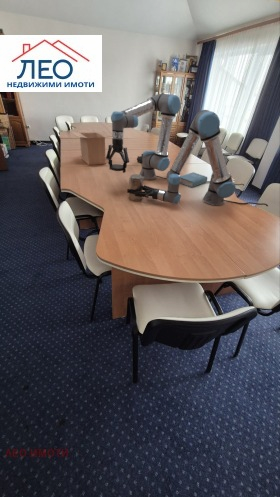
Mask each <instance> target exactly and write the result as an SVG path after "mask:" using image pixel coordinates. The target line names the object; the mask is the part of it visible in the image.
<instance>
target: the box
mask: <svg viewBox="0 0 280 497" xmlns="http://www.w3.org/2000/svg"><path fill="white" fill-rule="evenodd" d="M70 133H71V134H72V135H74V136H75V137H77V138H79V144H80V153H81V160H83V162H85V163H86V165H87V166H95V165H97V166H98V165H106V163H107V162H106V138H113V137H112V134H109V133H108V132H105V131H98V132H96V131H95V130H92V129H91V130H77V132H76V131H70Z"/></svg>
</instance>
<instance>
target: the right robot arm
mask: <svg viewBox="0 0 280 497" xmlns="http://www.w3.org/2000/svg"><path fill="white" fill-rule="evenodd" d="M220 125H221V120H220V118H219V116H218V114H216V113H215V112H214V111H211V110H209V109H202V110H200V111H198V112H197V113H196V115H195V116H194V117H193V119H192V122H191V124H190V126H189V128H188V133H187V136H186V137H185V139H184V142H183V143H182V146H181V147H180V149H179V151H178V153H177V155H176V157H175V159H174V161H173V163H172V165H171V167H170V169H169V170H168V171H167V172H166V175H165V176H166V177H165V178H167V179H166V180H167V190H165V189H160V188H154V187H151V186H148V185H145V184H143V191H136V190H131V189H129V188H127V189H126V190H127V191H126V193H128V194H129V193H131V194H135V196H138V197H142V198H146V199H149V197H151V198H152V200H156V201H157V200H158V201H160V202H165V203H169V204H174V205H178V204H179V203H180V202H181V199H182V194H181V193H180V192H179V190H180V184H181V183H180V176H181V175H180V174H181V173H182V171H183V169H184V167H185V165H186V164H187V161H188V160H189V158H190V156H191V154H192V152H193V150H194V149H195V147H196V146H197V144H198V141H199V139H200V142H202V143H203V144H204V147H205V150H206V155H207V157H208V161H209V164H210V167H211V171H212V173H211V176H210V180H209V181H210V182H209V185H208V189H207V191H206V192H205V194H204V196H203V199H202V201H203V202H204V203H205V204H207V205H210V206H222V205H223V204H224V202H227V203H231V204H237V205H258V206H259V205H260V206H263V205H264V206H266V207H269V205H268V203H265V202H263V203H259V202H252V201H248V202H239V201H238V202H237V201H232V200H227V199H228V198H230V197H231V196H233V195H234V194H235V192H236V189H237V188H236V187H237V186H236V185H235V184H236V183H234V181H233V177H232V174H231V173H230V172H229V171H228V168H227V164H226V160H225V156H224V152H223V148H222V145H221V141H220V140H221V139H220V137H219V136H220V134H221V128H220Z"/></svg>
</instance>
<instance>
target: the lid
mask: <svg viewBox="0 0 280 497" xmlns="http://www.w3.org/2000/svg"><path fill="white" fill-rule="evenodd" d="M110 169H111V171H114V172H123V164H120V163H114V164H113V163H112V165H110ZM110 169H109V170H110Z"/></svg>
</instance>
